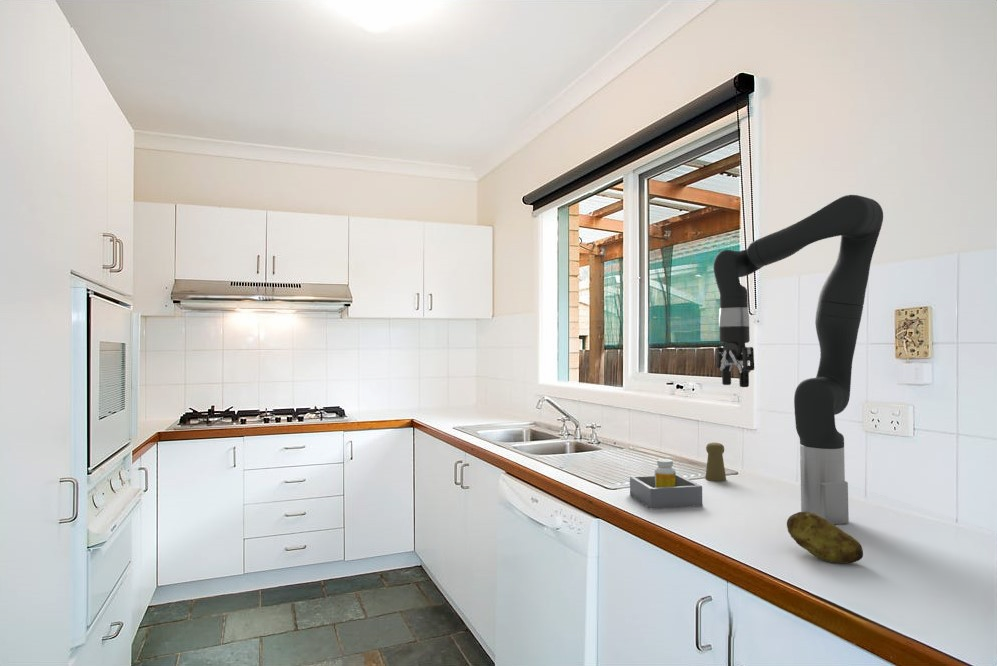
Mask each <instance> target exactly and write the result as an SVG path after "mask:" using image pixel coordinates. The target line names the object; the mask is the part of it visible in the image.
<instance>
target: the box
mask: <svg viewBox="0 0 997 666" xmlns="http://www.w3.org/2000/svg"><path fill="white" fill-rule="evenodd" d="M629 496H632V497H633V498H634V499H636V500H637V501H639V502H640V501H641V502H640V503H641V504H643V503H644V504H643V505H644V506H646V505H647V506H648V507H647V506H646V507H647V508H649V509H650V508H655V509H666V508H667V509H668V508H687V507H701V506H703V485H701V484H698V483H697V482H694V481H693V480H691V479H689V478H686V477H684V476H682V475H680V474H678V473H676V487H657V488H655V474H654V475H653V474H652V475H636V476H635V475H634V476H633V475H632V476H629Z"/></svg>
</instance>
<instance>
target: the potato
mask: <svg viewBox="0 0 997 666" xmlns="http://www.w3.org/2000/svg"><path fill="white" fill-rule="evenodd" d="M786 528H787V532H788V534H789V535H790V537H791V538H792V539H793V540H794V542H795V543H796V544H797V545H798V546H800V547H801V548H803V549H804V550H806V551H807V552H808V553H809V554H811V555H812V556H813V557H815V558H817V559H819V560H822V561H825V562H830V563H837V564H854V563H856V562H859V561H861V560H862V558H863V557H864V550H863V546H862V544H861V543H860V541H858V540H857V539H856V538H855V537H853V536H851V535H850V533H847V532H845V531H844V530H842V529H840V528H839V527H838V526H836V524H832V523H830V522H829V521H827V520H825V519H824V518H823V517H821V516H819V515H817V514H814V513H810V512H807V511H806V512H801V511H799V512H796V513H793V514H792V515H790V516H789V517H788V519H787V521H786Z"/></svg>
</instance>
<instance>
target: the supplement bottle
mask: <svg viewBox="0 0 997 666" xmlns="http://www.w3.org/2000/svg"><path fill="white" fill-rule="evenodd" d="M656 465H657V467H655V469H654V475H655V488H657V487H676V474H677V473H676V469H675V468H674V467H673V465H674V461H673V459H669V458H659V459H657V462H656Z"/></svg>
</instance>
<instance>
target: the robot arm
mask: <svg viewBox="0 0 997 666" xmlns="http://www.w3.org/2000/svg"><path fill="white" fill-rule="evenodd" d="M883 221H884V212H883V208H882V206H881V204H880V202H879V203H878V201H876V200H875V199H873V198H870V197H866V196H862V195H859V194H847V195H844V196H841V197H839V198H837V199H836V200H833V201H831V202H829V203H828V204H826V205H825V206H824V207H822V208H819V210H817V211H816V212H814V213H812V214H810V215H808V216H806V217H805V218H803V219H801V220H799V221H797V222H795V223H793V224H791V225H789V226H787V227H784V228H782V229H780V230H777V231H776V232H773V233H770V234H767V235H765V236H762V237H761V238H758V239H755V240H753V241H752V242H751V243H750V244H748V246H747V248H745V249H742V250H731V249H723V250H721V251H720V252H718V253H717V254H716V256H715V258H714V262H713V274H714V279H715V283H716V286H717V289H718V292H719V314H718V330H719V331H718V333H719V334H718V335H719V337H718V338H719V339H718V341H719V343H721V344H723V346H718V347H717V348H716V367H717V369H719V370H720V371H721V377H722V378H721V384H722V385H723V386H731V385H732V371H731V370H732V368H733V366H736V367H737V369H738V371H739V374H738V375H739V376H738V377H739V387H740V388H748V387H749V386H750V378H749V377H750V375H749V374H750V373H751V371H754V370H755V356H754V355H755V354H754V346H753V347H752V346H746V344H748V343H749V342H750V315H749V314H750V313H749V302H748V300H749V299H748V298H749V296H748V293H749V292H748V289H747V288H746V287H745V286H744V285H742V284H741V282H740V278H742V277H746V276H749V275H751V274H753V273H755V272H757V271H758V270H761V269H762V268H763V267H766V266H768V265H772V264H774V263H778V262H779V261H782V260H784V259H787V258H789V257H791V256H793V255H794V254H796V253H798V252H799V251H801V250H803V248H805V247H807V246H809V245H811V244H813V243H816V242H819V241H822V240H825V239H830V238H834V237H839V236H840V243H839V248H838V249H839V251H838V255H837V259H836V261H835V263H834V265H833V268H832V269H831V271H830V273H829V275H828V276H827V278H826V279H825V281H824V283H823V285H822V287H821V290H820V292H819V296H818V301H817V304H816V305H817V306H816V311H815V322H814V323H815V330H816V337H817V340H818V344H819V349H820V350H819V352H820V354H819V355H820V357H819V364H818V369H817V373H816V376H815V377H811V378H807V379H803V380H802V381H801V382H799V384H798V385H797V386H796V388H795V391H794V397H793V398H794V399H793V400H794V402H793V405H794V406H793V407H794V418H795V419H794V420H795V429H796V432H797V435H798V437H799V438H798V439H799V464H800V465H799V468H800V469H799V471H800V473H799V475H800V478H799V479H800V508H801V511H800V512H806V511H807V512H810V513H814V514H817V515H819V516H821V517H823V518H824V519H825V520H827V521H829V522H830V523H832V524H834V525H841V524H842V525H843V524H849V523H850V521H849V518H850V517H849V515H850V514H849V512H850V511H849V483H848V481H846V473H845V472H846V471H845V470H846V469H845V466H846V465H845V437H844V435H843V434H842V433H841V432H839V431H838V429H837V428H836V427H837V426H836V419H835V418H836V417H835V416H836V415H839V414H841V413H842V412H843V411H844V410H846V408H847V407H848V405H849V401H850V396H851V386H852V385H851V384H852V370H853V369H852V368H853V359H854V355H855V350H856V344H857V340H858V334H859V329H860V326H861V321H862V316H863V310H864V305H865V297H866V292H867V288H868V287H867V286H868V281H869V276H870V269H871V263H872V259H873V255H874V252H875V249H876V246H877V243H878V239H879V236H880V233H881V229H882V226H883Z"/></svg>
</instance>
